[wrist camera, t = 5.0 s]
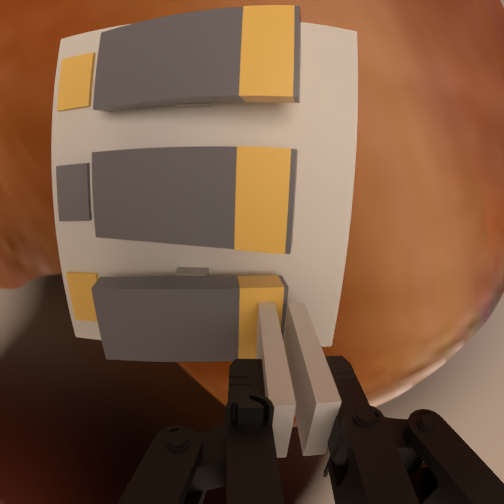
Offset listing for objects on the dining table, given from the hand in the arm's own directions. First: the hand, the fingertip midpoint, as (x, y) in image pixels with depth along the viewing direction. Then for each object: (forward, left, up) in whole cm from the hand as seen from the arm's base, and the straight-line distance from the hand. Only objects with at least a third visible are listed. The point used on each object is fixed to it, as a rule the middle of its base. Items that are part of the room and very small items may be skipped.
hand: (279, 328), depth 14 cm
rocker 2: (-4, +6, -1) cm, 7 cm away
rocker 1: (-4, +12, -1) cm, 13 cm away
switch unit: (-4, +6, -7) cm, 10 cm away
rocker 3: (-4, 0, -1) cm, 4 cm away
